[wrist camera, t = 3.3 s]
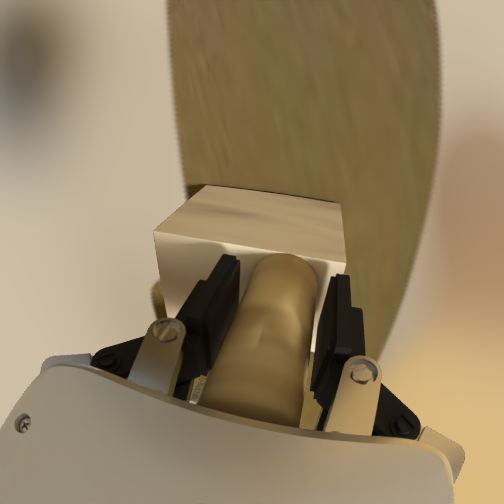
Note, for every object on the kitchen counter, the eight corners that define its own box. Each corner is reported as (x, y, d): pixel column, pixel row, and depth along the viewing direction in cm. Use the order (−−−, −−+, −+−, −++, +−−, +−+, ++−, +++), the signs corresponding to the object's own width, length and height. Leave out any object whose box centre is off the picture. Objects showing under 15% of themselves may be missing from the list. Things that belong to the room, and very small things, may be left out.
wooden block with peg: (324, 279, 21) (300, 471, 9) (208, 258, 22) (110, 412, 10) (340, 203, 17) (347, 417, 6) (206, 185, 19) (55, 329, 7)
